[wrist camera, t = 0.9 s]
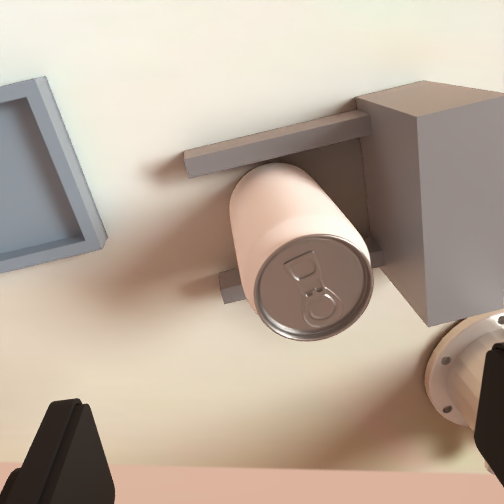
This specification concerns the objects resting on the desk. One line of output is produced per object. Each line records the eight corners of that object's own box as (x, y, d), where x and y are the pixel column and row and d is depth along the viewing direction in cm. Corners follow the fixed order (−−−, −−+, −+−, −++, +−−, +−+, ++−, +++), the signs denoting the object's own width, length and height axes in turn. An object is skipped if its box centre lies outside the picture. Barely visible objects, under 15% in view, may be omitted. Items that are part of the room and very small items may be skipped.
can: (252, 263, 33) (277, 368, 22) (212, 186, 31) (219, 264, 20) (333, 225, 33) (399, 315, 22) (299, 144, 30) (357, 200, 19)
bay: (431, 245, 34) (504, 308, 26) (225, 295, 34) (233, 374, 26) (423, 80, 29) (510, 94, 21) (181, 138, 29) (174, 175, 21)
